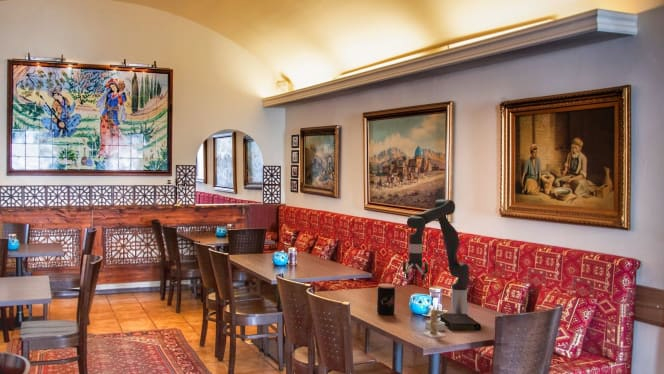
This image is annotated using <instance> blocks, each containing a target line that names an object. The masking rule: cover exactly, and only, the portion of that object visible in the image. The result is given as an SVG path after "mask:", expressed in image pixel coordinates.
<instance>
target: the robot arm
mask: <svg viewBox="0 0 664 374" xmlns="http://www.w3.org/2000/svg"><path fill="white" fill-rule="evenodd" d="M455 210H456V204H455V202H454V201H453V200H452V199H436V201H435V202H434V207H433V208H430V209H426V210H425V211H423V212H421V213H416V214H413V215H410V216H409V217H408V218H407V219H406V225H407V227H408V228H409V229H412V230H413V229H414V230H416V231H415V232H412V233H410V235H409V244H408V245H409V246H408V261H406V260H403V262H402V272H404V273H405V279H406V280H409V279H410V271H411V270H417V271H419V272H420V273H421V276H420V278H421V279H420V281H421V282H423V281H424V280H425V276H426V275H425V274H428V273H429V266H428V265H429V263H428V262H427V261H426V262H423V236H424V232H425V229H426V225H428V224H429V223H432V222H434V221H435V220H438V223H439V226H440V230H441V234H442V240H443V243H444V247H445V252H446V255H447V262H448V263H447V264H448V269H449V273H450V275H451V276H452V277H453V278H457V282H454V283H452V284H451V302H450V303H451V305H450V306H451V307H450V313H455V314H467V315H468V312H469V302H468V300H467V299H468V296H467V295H468V286H469V279H470V267H469V265H468V264H467V263H463V262H459V260H458V255H457V254H458V250H459V248H460V245H461V243H460V236H459V234H458V231H457V229H456V228H455V227H454V226H453V225H452V223H450V220H449V219H448V217H447V216H450V215H453V214H455ZM407 265H408V268H407ZM422 266H423V267H424V269H423V267H422ZM468 316H469V315H468Z"/></svg>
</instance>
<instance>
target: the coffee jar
mask: <svg viewBox="0 0 664 374" xmlns="http://www.w3.org/2000/svg"><path fill="white" fill-rule="evenodd" d="M377 287H378V288H377V298H376V299H377V303H376V304H377V305H376V312H377V314H378V315H379V316H386V317H387V316H393V315H394V314H395V309H396V308H395V305H396V304H395V302H396V300H395V299H396V289H395V287H396V285H395V284H392V283H378V284H377Z"/></svg>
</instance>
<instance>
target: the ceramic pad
mask: <svg viewBox="0 0 664 374" xmlns="http://www.w3.org/2000/svg"><path fill="white" fill-rule="evenodd" d="M422 335H424V336H426V337H428V338H430V339H433V338H434V339H435V338H445V337H446V334H444V333H442V332H440V331H437V334H436V335H433V334H430V331H424V332H423V331H422Z"/></svg>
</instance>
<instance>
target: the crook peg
mask: <svg viewBox="0 0 664 374" xmlns="http://www.w3.org/2000/svg"><path fill="white" fill-rule="evenodd" d="M443 313H444V310H440V309H434V308H433V309H430V320H431V321H430V320H429V321H430V330H429V332H430V334H433V335H436V334H437V332H438V331H437V322H438V319H439V318H438V315H439V314H440V315H443ZM440 315H439V316H440Z"/></svg>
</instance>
